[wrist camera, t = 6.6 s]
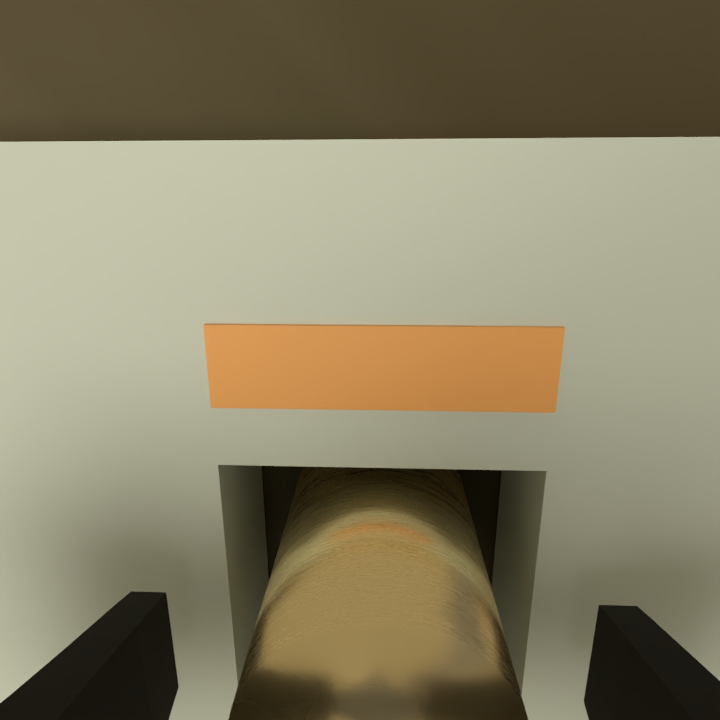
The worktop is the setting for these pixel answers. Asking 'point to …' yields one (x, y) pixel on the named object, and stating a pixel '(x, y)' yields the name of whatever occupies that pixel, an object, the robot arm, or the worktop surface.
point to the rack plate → (358, 378)
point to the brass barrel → (378, 607)
